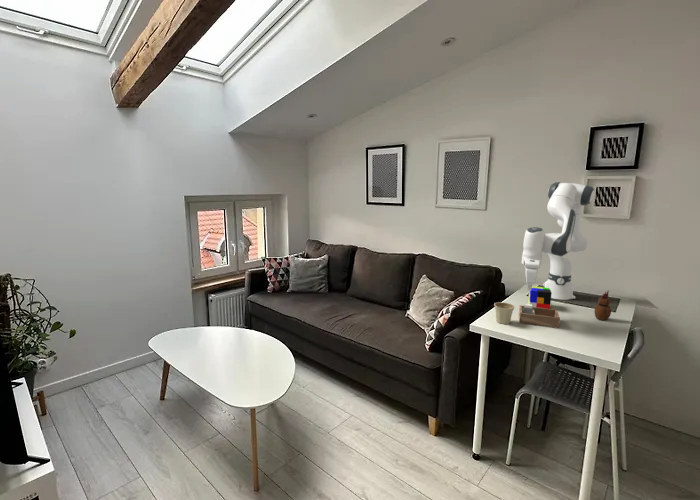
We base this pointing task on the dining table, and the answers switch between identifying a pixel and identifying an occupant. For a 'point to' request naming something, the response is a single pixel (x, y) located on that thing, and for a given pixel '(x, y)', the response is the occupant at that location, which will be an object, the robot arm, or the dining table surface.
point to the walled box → (540, 317)
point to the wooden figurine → (603, 307)
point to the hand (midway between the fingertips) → (528, 287)
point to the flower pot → (503, 312)
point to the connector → (528, 309)
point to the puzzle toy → (540, 297)
